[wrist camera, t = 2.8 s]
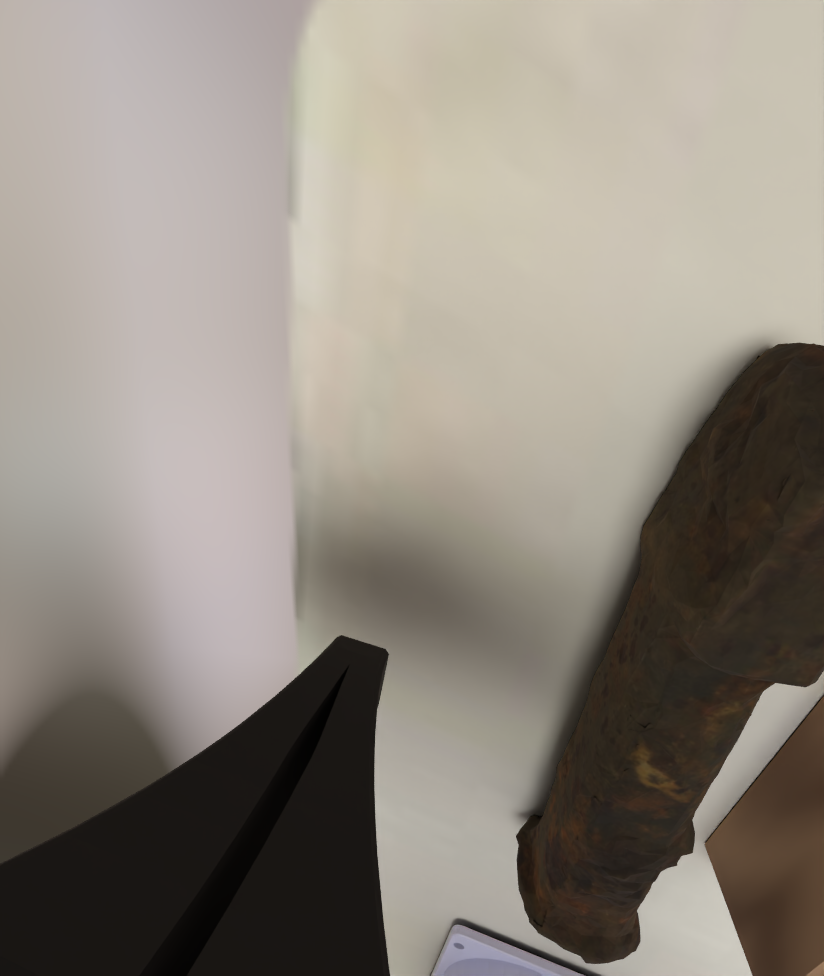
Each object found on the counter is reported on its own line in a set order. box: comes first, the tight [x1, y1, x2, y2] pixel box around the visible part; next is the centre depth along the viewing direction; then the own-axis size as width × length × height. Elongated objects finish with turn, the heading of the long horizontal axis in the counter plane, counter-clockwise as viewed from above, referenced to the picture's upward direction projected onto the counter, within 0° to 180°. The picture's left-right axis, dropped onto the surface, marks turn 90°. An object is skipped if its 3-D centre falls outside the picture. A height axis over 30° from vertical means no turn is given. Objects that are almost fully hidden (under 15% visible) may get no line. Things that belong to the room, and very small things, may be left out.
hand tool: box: [516, 343, 824, 964], centre depth 11 cm, size 19×4×5 cm, turn 171°
